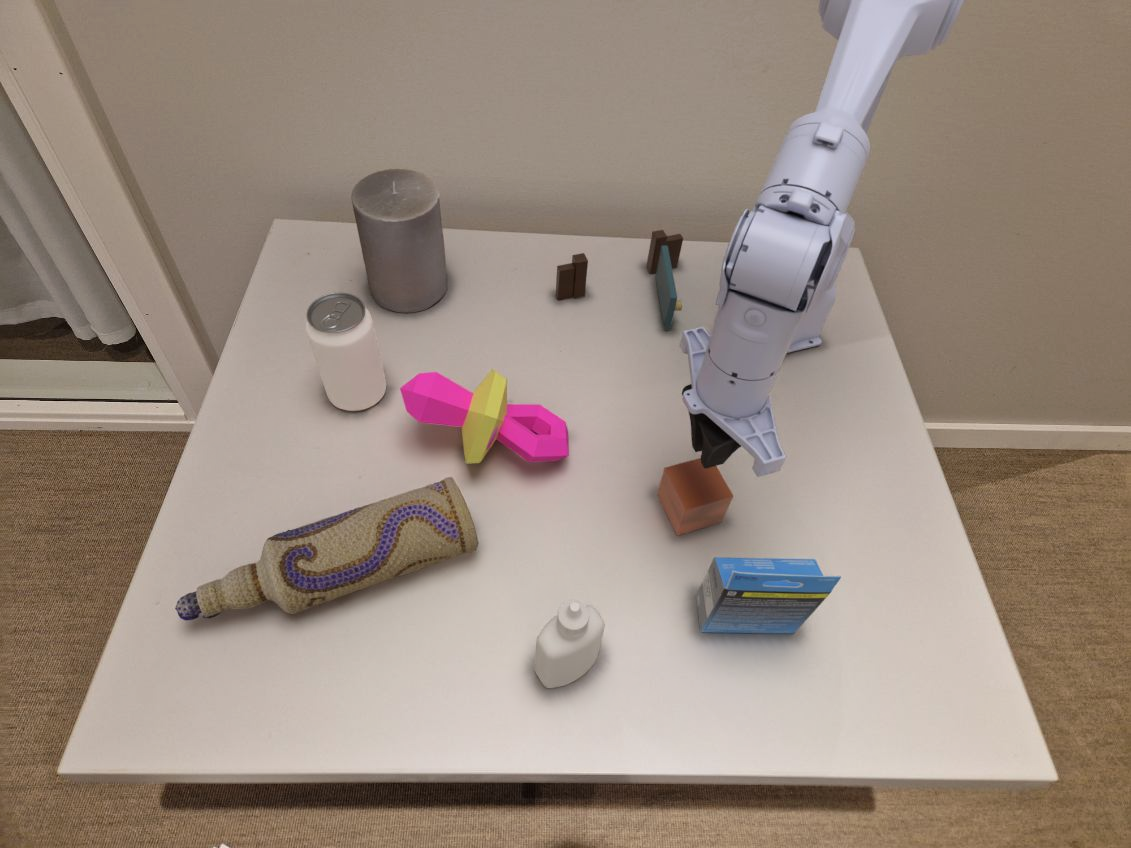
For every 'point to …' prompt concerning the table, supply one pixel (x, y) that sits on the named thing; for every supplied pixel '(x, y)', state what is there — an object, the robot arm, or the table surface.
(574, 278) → the gate
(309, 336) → the can
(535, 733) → the table surface
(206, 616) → the decorative bottle
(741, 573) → the label tape box
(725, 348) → the robot arm
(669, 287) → the gate door
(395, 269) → the pillar candle
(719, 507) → the block
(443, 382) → the toy
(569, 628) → the eye dropper bottle
